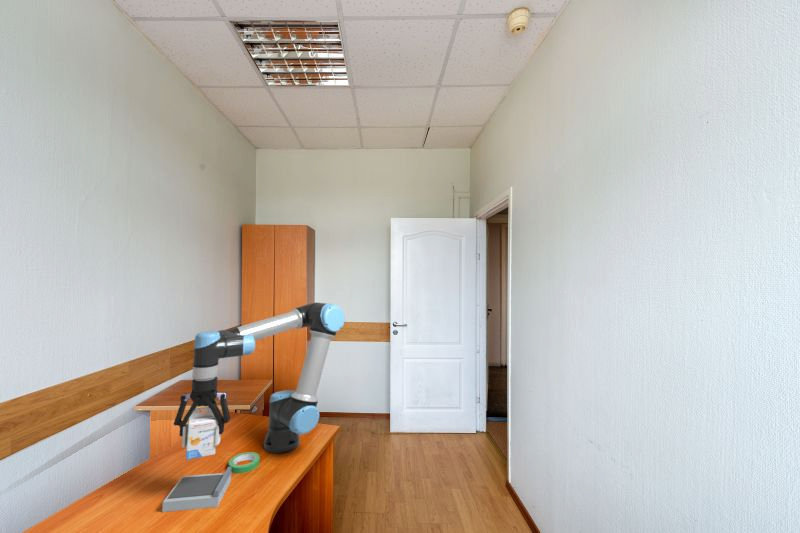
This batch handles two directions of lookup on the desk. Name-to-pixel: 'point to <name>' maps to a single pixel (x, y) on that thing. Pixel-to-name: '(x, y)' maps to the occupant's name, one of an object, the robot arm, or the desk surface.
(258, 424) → the desk surface
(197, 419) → the ink box
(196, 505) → the dock
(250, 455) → the tape roll
